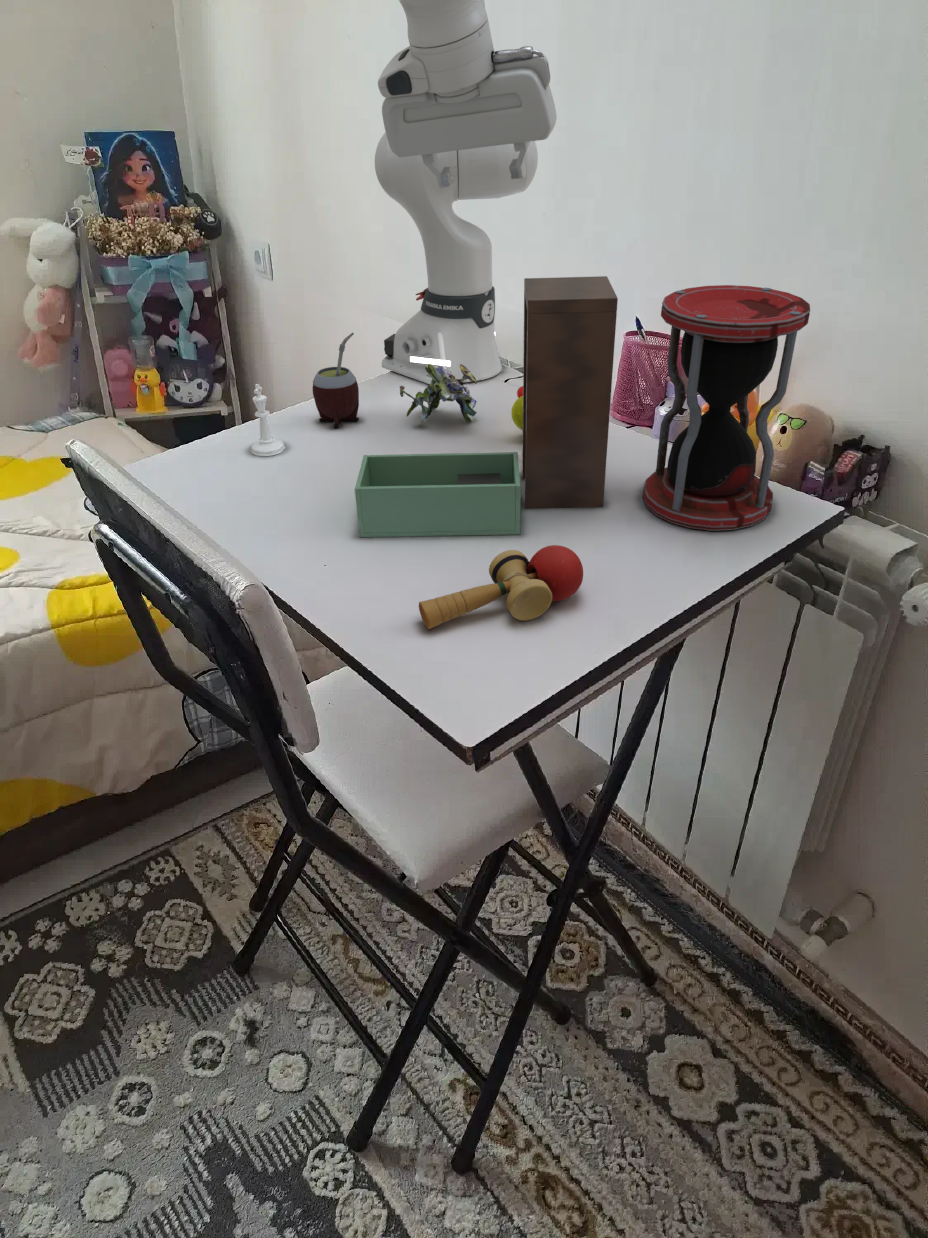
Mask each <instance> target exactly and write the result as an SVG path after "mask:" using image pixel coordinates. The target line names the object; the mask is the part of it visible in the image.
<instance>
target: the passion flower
mask: <svg viewBox="0 0 928 1238" xmlns="http://www.w3.org/2000/svg"><path fill="white" fill-rule="evenodd" d="M427 366H428V367H427ZM425 369H426V371H427V373H428V374H429V375H430V376H431V378H432V380H431V385H430V384H427V386H426V387H425V388H424V390H423V392H422V391H418V392H417V393H416V394H415V397H413V395H411V394H410V393H408V392H406V391H405V389H406V388H405V387H406V386H404V385H399V395H400V397H401V398H404V394H405V395H406V396H407V397H409V398H411V399H412V400H413V401H411V406H410V407H409V408H408V410H407V412H406V417H409V416H410V415H411V413H412V412H413V411H414V409H416V408H417V407H418V406H420V407H421V412H420V413H421V418H420V423H419V426H418V428H421V427H422V425H423V424H424V422H425V420H427V419H428V418H429V417H430V416H431V415H432V412H433V411H434V410H436V409H438V408H439V406H440V402H441V401H442V402H444V403H445V402H454V401H455V402H456V403H457V404H458V405H459V407H460V413H461V415H462V418H463V419H464V421H466V422H469V423H473V417H475V416H476V414H477V413H478V412H477V411H476V410H475V409H474V408H475V407H476V406H477V402H478V401H477V400H476V399H475V398H473V397H472V395H471V392H470V391H471V390H469V388H468V387H467V386H464V382H463V381H464V380H465V379H469V380H470V381H472V383H473V384H475V385H476V384H477V383H478V381H476V378H475V377H474V376H473V375H472V374H471V372H470V371H469V370H468V369H467V368H466V367H465V366H464V365H462V364H460V369H461V372H462V374H463V375H464V376H463V377H462V378H461V379H456V378H455V377H454V375H453V374H452V373H451V371H450V372H449V371H447V370H446V369H444V368H443V367H440V366H439V365H438V368H436V369H435V368H434V366H433V365H432V364H426V365H425ZM424 403H426V404H427V406H425V405H424Z"/></svg>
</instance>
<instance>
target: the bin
mask: <svg viewBox="0 0 928 1238" xmlns="http://www.w3.org/2000/svg"><path fill="white" fill-rule="evenodd" d="M519 461H520V460H519V452H518V451H505V452H503V451H502V452H501V451H500V452H498V451H497V452H496V451H495V452H455V453H454V452H452V453H451V452H449V453H404V454H401V453H399V454H364V455H363V456H362V460H361V464H360V468H359V472H358V475H357V478H356V483H355V486H354V497H355V505H356V513H357V523H358V531H359V532H358V533H359V538H390V537H391V538H392V537H393V538H395V537H398V538H399V537H444V536H445V537H450V536H451V537H452V536H454V537H455V536H504V535H506V536H507V535H521V493H522V492H521V489H522V487H521V486H522V485H521V476H520V463H519ZM487 473H500V475H501V484H475V485H458V474H487Z"/></svg>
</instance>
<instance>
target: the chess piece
mask: <svg viewBox="0 0 928 1238" xmlns="http://www.w3.org/2000/svg"><path fill="white" fill-rule="evenodd" d="M254 386H255V389H254V390H253V393H254V394H256V395H255V396H253V397H252V402H253V404H254V405H255V408H256V409H257V411H255V412H254V417H257V418H259V432H260V434H259V435H260V437H259V439H258V440H257V441H255V442H254V443H253V444H252V445H251V453H252V455H255V456H257V457H271V456H276V455H279V454H281V453H282V452H284V451H285V449H286V447H285V443H284V441H282V440H281V439H279V438H275V437H274V436H272V431H271V429H270V426H269V422H268V418H267V417H269V416H270V414H271V413H270V410H267V409H266V406H267V400H268V397H267V396H266V395H264V394H262V393H261V392H262V391H263V386H260V383H255V384H254Z"/></svg>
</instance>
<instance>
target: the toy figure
mask: <svg viewBox="0 0 928 1238" xmlns="http://www.w3.org/2000/svg"><path fill="white" fill-rule="evenodd" d="M516 396H517V399H516V400H515V401H514V403H513V404H512V407H511V411H510V414H511V420H512V422H513V424H514V425H515V426H516V428H518V429H520V430H521V431H523V385H521V386H519V388H518V389H517V391H516Z"/></svg>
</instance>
